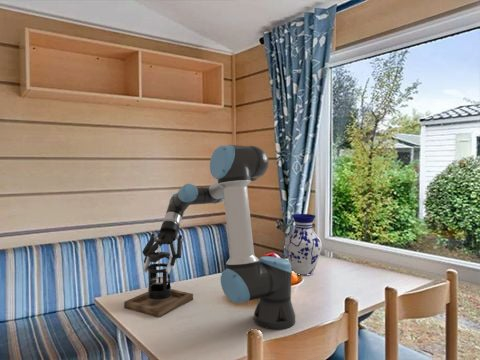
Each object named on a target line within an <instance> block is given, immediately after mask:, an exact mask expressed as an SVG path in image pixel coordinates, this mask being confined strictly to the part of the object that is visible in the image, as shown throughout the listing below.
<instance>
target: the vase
mask: <svg viewBox="0 0 480 360" xmlns="http://www.w3.org/2000/svg"><path fill="white" fill-rule="evenodd" d="M292 218H293V220H294V225H295V226H294V228H293V230H292V231H291V233H289V235H287V237H286V238H285V242H284V246H285V247H284V248H285V253H286V257H287V260H288V261H289V262H290V263H291V271H294V272H295V273H297V274H300V275H299V276H301V275H307V274H312V273H313V272H314V273H315V270H316V266H317V264H318V260H319V259H320V255H321V252H322V248H323V244H322V240H321V238H320V237H319V236H318V234H317V233H316V232H315V231H314V228H313V222H314V220H315V219H316V215H315V214H310V213H294V214H292ZM314 273H313V274H314ZM313 274H312V275H313Z"/></svg>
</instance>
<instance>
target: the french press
mask: <svg viewBox="0 0 480 360" xmlns="http://www.w3.org/2000/svg"><path fill="white" fill-rule="evenodd" d="M162 241H164V240H163V239H158V238H157V239H156V240H154V243H156V242H158V246H159V245H160V242H162ZM170 256H171V253H170V252H169V251H157V252H156V251H155V252H154V253H150V254H148V257H149V261H150V265H149V266H148V271H147V273H148V277H147V278H148V288H147V289H148V291H147V292H148V298H150V299H154V300H161V299H166V298H169V297H170V296H171V289H172V286H171V273H170V274H167V272H166V268H167V265H168V263H164V262H162V263H160V262H161V261H160V260H161V259H164V258H166V259H167V260H168V261H169V258H170ZM157 262H158V263H157ZM161 267H162V269H161ZM163 267H164V268H163ZM157 268H158V269H157ZM157 274H158V276H157ZM161 274H162V276H161Z"/></svg>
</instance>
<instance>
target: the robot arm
mask: <svg viewBox="0 0 480 360" xmlns="http://www.w3.org/2000/svg"><path fill="white" fill-rule="evenodd" d="M269 165H270V161H269V156H268V155H267V153H266V152H265V151H264V149H262V148H261V147H258V146H256V145H237V144H235V145H234V144H227V145H219V146H217V147H216V148H215V149H214V150H213V152H212V154H211V156H210V161H209V172H210V174H211V176H212V177H213V178H214V179H216V181H214V182H213V183H211V184H210V185H209V186H199V187H197V186H196V185H195V184H192V183H186V184H183V186H181V188H179V190H178V192H177V193H176V192H175V193H174V194H172V195H171V198H170V199H169V203H168V206H167V208H166V211H165V215H164V218H163V220H162V223H161V226H160V230H159V232H158V233H157V234H155V233H153V232H152V233H151V235H150V238H149V240H148V242H147V243H146V245H145V247H144V248H143V250H142V255H143V256H144V260H143V263H144V264H143V268H142V270H143V272H144V273H148V266H150V264H151V262H150V261H149V257H148V254H150V253H154V252H156V251H157V250H159V249H160V247H161V246H163V245H169V247H170V252H171V253H170V254H171V255H170V256H169V260H168V262H167V264H168V265H167V267H165V269H166V272H167V275H168V274H170V275H171V269H172V267H174V266H175V264H176V260H177V259H181V258H182V245H183V244H182V243H183V241H184V237H183V235H181V234H178V233H179V231H180V226H181V223H182V220H183V216H184V214H185V211H186V210H187V209H188V208H189V207H190V206H193V205H207V204H218V203H219V204H220V203H222V202H224V213H225V223H226V224H225V225H226V232H227V242H228V243H227V244H228V253H229V258H228V260H227V261H226V263H225V267H226V268H225V269H224V270H223V271H222V272H221V275H220V285H221V290H222V291H223V294H224V296H225V297H227V299H228V300H229V301H230V302H232V303H234V304H241V303H248V302H250V301H253V300H256V299H258V300H257V304H256V307H255V309H254V312H253V313H254V314H253V320H254V321H253V322H254V323H255V324H256V325H258V326H259V327H262V328H265V329H269V330H270V329H271V330H284V329H288V328H291V327H293V326H294V325H295V324H296V313H295V310H294V306H293V304H292V297H291V296H292V274H293V273H292V269H291V263H290V262H289V260H288V259H285V258H282V257H276V256H268V255H267V256H266V255H265V256H260V258H258V257H257V256H256V254H255V250H254V249H255V247H254V240H253V228H252V221H251V209H250V201H249V192H248V191H249V190H248V186H249V185H250V184H251V182H254V181H256V180H258V179H260V178H261V177H264V175H265V174H266V172H267V171H268V169H269ZM156 239H163V240H164V241H162V242H160V245H159V246H158V242H154V240H156ZM175 241H177V243H176V244H177V245H176V248H175V245H174V242H175ZM175 249H176V250H175Z"/></svg>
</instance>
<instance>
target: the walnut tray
mask: <svg viewBox="0 0 480 360" xmlns="http://www.w3.org/2000/svg"><path fill="white" fill-rule="evenodd" d="M193 300H194V293H190V292H186V291H182V290H178V289H172V288H171V296H170V297H169V298H166V299H161V300H154V299H150V298H148V291H146V292H143V293H141V294H139V295H137V296H135V297H132V298H129V299H127V300H125V301H123V308H124V309H127V310H130V311H134V312H138V313H140V314H141V313H142V314H145V315H148V316H153V317H156V318H161V317H163V316H165V315H167V314H169V313H170V312H173V311H174V310H177V309H179V308H180V307H181V306H184V305H186V304H188V303H190V302H192V301H193Z"/></svg>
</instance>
